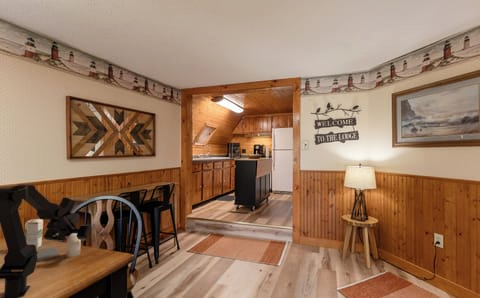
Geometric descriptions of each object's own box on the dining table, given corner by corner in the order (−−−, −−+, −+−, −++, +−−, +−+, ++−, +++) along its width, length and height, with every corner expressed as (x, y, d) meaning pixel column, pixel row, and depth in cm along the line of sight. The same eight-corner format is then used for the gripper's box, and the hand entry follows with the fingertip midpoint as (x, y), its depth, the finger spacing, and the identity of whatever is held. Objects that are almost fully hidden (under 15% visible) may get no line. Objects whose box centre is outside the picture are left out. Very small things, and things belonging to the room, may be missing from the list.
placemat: (59, 256, 113) (60, 255, 113) (29, 263, 105) (29, 262, 105) (53, 247, 124) (53, 246, 124) (25, 253, 116) (25, 252, 116)
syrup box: (28, 246, 125) (30, 219, 125) (42, 245, 127) (43, 218, 127) (23, 250, 119) (24, 222, 120) (37, 249, 122) (38, 221, 122)
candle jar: (79, 255, 114) (80, 235, 114) (65, 258, 112) (66, 237, 112) (80, 251, 119) (81, 232, 119) (67, 253, 117) (68, 233, 117)
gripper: (90, 208, 113) (100, 224, 123) (49, 209, 111) (63, 225, 122) (80, 230, 105) (92, 245, 115) (35, 230, 103) (52, 246, 114)
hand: (75, 239), depth 117 cm, fingers open, 9 cm apart
